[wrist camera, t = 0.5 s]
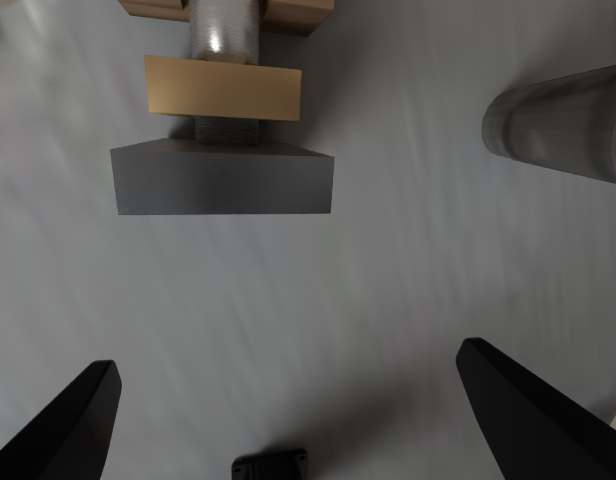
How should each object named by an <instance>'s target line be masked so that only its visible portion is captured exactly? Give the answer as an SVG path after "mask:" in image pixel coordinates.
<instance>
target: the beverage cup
mask: <svg viewBox="0 0 616 480" xmlns="http://www.w3.org/2000/svg"><path fill="white" fill-rule="evenodd" d="M482 138H483V140H484V143H485V146H486V147H487V148H488V149H489V150H490V152H492V153H494V154H496V155H498V156H504V157H507V158H510V159H512V160H515V161H520V162H524V163H528V164H533V165H537V166H541V167H546V168H550V169H554V170H559V171H563V172H567V173H572V174H576V175H580V176H585V177H589V178H593V179H598V180H602V181H606V182H611V183H615V184H616V65H613V66H609V67H604V68H600V69H596V70H592V71H588V72H583V73H579V74H575V75H571V76H566V77H562V78H558V79H554V80H550V81H545V82H541V83H537V84H533V85H529V86H526V87H523V88H520V89H518V90H512V91H509V92H505V93H503V94H501V95H500V96H499V97H497V98H496V99H495V100H494V101H493V102H492V104H491V105H490V106H489V107H488V109H487V112H486V114H485V116H484V119H483V124H482Z"/></svg>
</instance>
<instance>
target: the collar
mask: <svg viewBox="0 0 616 480" xmlns="http://www.w3.org/2000/svg"><path fill="white" fill-rule="evenodd" d="M144 59H145V70H146V81H147V92H148V103H149V112H151V113H156V114H162V115H168V116H178V117H195V116H211V117H228V118H245V119H259V121H265V122H293V121H299V118H300V93H301V70H295V69H285V68H275V67H265V66H254V65H244V64H234V63H223V62H213V61H203V60H192V59H182V58H172V57H161V56H151V55H144Z"/></svg>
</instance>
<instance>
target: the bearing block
mask: <svg viewBox="0 0 616 480" xmlns="http://www.w3.org/2000/svg"><path fill="white" fill-rule="evenodd" d="M118 1H119V3H120V4H121V5H122V6H123V7H124V9H125V10H126V11H127V12H128V13H129V15H132V16H140V17H148V18H157V19H165V20H173V21H181V22H189V23H190V15H189V0H118ZM333 10H334V0H259V31H264V32H272V33H280V34H288V35H296V36H305V37H308V36H309V35H310V34H311V33H312V32H313V30H314V29H315V28H316V27H317V26H318V25H319V24H320V23H321V22H322V21H323V20H324V19H325V18H326V17H327V16H328V15H329V14H330V13H331V12H332V11H333Z"/></svg>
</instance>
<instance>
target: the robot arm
mask: <svg viewBox="0 0 616 480" xmlns="http://www.w3.org/2000/svg"><path fill="white" fill-rule="evenodd" d="M456 366H457V369H458V372H459V374H460V377H461V380H462V382H463V385H464V388H465V391H466V393H467V396H468V399H469V401H470V404H471V407H472V409H473V412H474V414H475V417H476V419H477V422H478V424H479V426H480V428H481V430H482V432H483V435H484V437H485V439H486V441H487V443H488V445H489V447H490V449H491V451H492V453H493V455H494V457H495V459H496V461H497V464H498V466H499V468H500V470H501V472H502V474H503V476H504V478H505V480H616V430H615V429H613V428H612V427H611V426H609V425H608V424H606V423H605V422H603V421H602V420H600V419H599V418H597V417H596V416H595V415H593V414H592V413H590V412H589V411H587V410H586V409H584V408H583V407H581V406H580V405H579V404H577V403H576V402H574V401H573V400H571V399H570V398H568V397H567V396H565V395H564V394H563V393H561V392H560V391H558V390H557V389H555V388H554V387H552V386H551V385H549V384H548V383H546V382H545V381H544V380H542V379H541V378H539V377H538V376H536V375H535V374H533V373H532V372H530V371H529V370H528V369H526V368H525V367H523V366H522V365H520V364H519V363H517V362H516V361H514V360H513V359H512V358H510V357H509V356H507V355H506V354H504V353H503V352H501V351H500V350H498V349H497V348H496V347H494V346H493V345H491V344H490V343H488V342H487V341H485V340H484V339H482V338H479V337H473V338H466V339H465V340H464V341H463V343H462V345H461V347H460V349H459V351H458V354H457V356H456ZM121 389H122V382H121V378H120V375H119V372H118V369H117V366H116V363H115V362H114V361H113V360H97V361H94V362H92V363H91V364H90V365H89V366H88V367H87V368H86V369H84V370H83V371H82V372H81V373H80V374H79V375H78V376H77V377H76V378H75V379H74V380H73V381H72V382H71V383H70V384H69V385H68V386H67V387H66V388H65V389H64V390H62V391H61V392H60V393H59V394H58V395H57V396H56V397H55V398H54V399H53V400H52V401H51V402H50V403H49V404H48V405H47V406H46V407H45V408H44V409H43V410H42V411H40V412H39V413H38V414H37V415H36V416H35V417H34V418H33V419H32V420H31V421H30V422H29V423H28V424H27V425H26V426H25V427H24V428H23V429H22V430H21V431H20V432H18V433H17V434H16V435H15V436H14V437H13V438H12V439H11V440H10V441H9V442H8V443H7V444H6V445H5V446H4V447H3V448H2V449H1V450H0V480H100V478H101V475H102V471H103V468H104V465H105V462H106V458H107V454H108V450H109V445H110V441H111V436H112V431H113V427H114V422H115V418H116V413H117V409H118V404H119V399H120V395H121ZM307 462H308V455H307V452H306V450H297V451H292V452H286V453H281V454H275V455H270V456H264V457H258V458H253V459H247V460H242V461H237V462H234V463H233V464H232V466H231V470H232V480H306V477H307Z"/></svg>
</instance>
